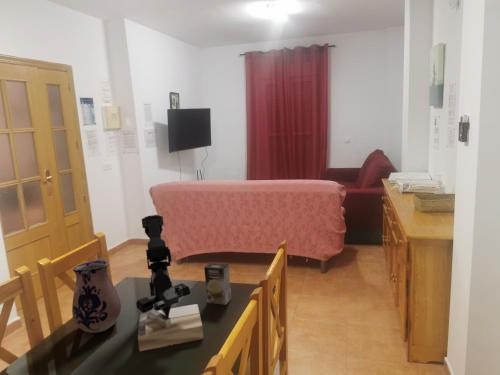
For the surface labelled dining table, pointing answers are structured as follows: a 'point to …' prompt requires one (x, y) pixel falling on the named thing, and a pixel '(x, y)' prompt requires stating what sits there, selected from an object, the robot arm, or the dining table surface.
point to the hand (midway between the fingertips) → (167, 318)
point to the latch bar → (159, 318)
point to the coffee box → (217, 283)
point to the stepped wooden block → (169, 332)
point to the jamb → (175, 312)
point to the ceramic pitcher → (94, 297)
